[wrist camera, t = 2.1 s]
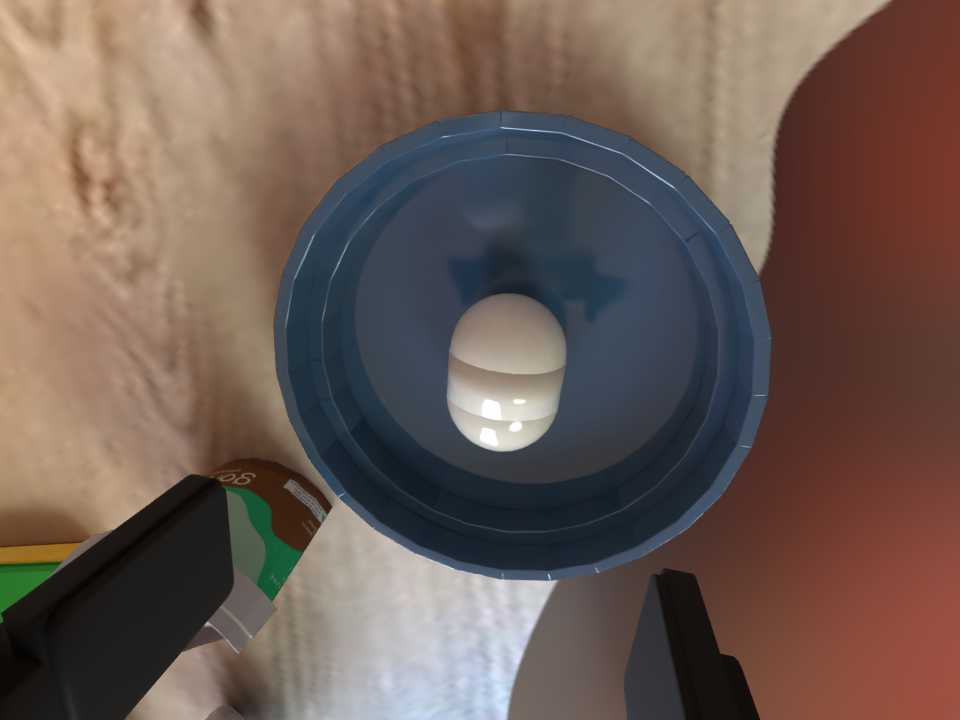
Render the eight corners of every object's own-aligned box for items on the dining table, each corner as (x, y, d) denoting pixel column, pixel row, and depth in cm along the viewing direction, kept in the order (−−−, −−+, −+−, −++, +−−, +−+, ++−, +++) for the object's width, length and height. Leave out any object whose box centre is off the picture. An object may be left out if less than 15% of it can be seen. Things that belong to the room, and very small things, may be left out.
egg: (467, 276, 23) (440, 299, 18) (575, 290, 22) (576, 317, 18) (455, 411, 25) (429, 462, 21) (553, 427, 25) (549, 484, 20)
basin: (312, 105, 22) (259, 89, 18) (799, 146, 19) (853, 137, 16) (321, 490, 29) (284, 535, 25) (678, 558, 26) (696, 619, 23)
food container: (297, 410, 27) (156, 526, 18) (352, 500, 29) (248, 650, 19) (145, 477, 31) (-38, 602, 22) (200, 554, 32) (51, 703, 23)
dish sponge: (139, 622, 36) (110, 651, 34) (-5, 623, 39) (-40, 650, 37) (97, 540, 34) (63, 566, 31) (-51, 548, 37) (-92, 572, 34)
